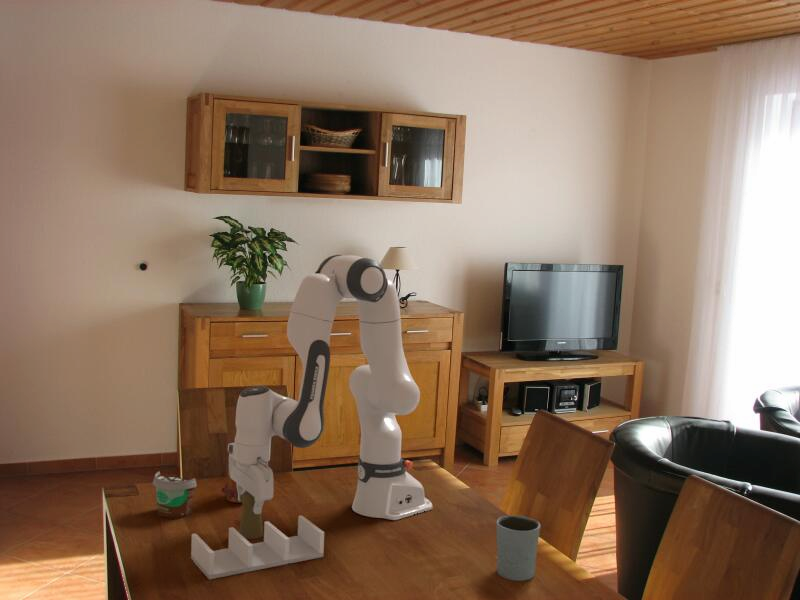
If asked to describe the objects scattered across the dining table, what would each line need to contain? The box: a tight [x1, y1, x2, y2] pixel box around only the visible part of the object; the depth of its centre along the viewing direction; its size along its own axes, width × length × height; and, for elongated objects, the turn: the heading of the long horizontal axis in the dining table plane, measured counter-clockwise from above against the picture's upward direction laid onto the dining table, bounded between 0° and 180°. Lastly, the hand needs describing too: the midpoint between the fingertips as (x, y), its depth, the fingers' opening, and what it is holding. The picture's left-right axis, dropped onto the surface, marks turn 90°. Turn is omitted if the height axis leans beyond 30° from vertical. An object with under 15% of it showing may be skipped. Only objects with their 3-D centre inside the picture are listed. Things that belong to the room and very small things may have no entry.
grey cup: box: [496, 515, 541, 582], centre depth 202 cm, size 10×10×12 cm
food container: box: [152, 471, 197, 519], centre depth 228 cm, size 12×6×10 cm, turn 68°
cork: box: [238, 491, 264, 540], centre depth 217 cm, size 6×6×11 cm
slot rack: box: [190, 515, 325, 580], centre depth 204 cm, size 28×12×6 cm, turn 122°
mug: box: [221, 451, 242, 504], centre depth 243 cm, size 15×8×15 cm, turn 168°
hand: (249, 506), depth 217 cm, fingers open, 8 cm apart
